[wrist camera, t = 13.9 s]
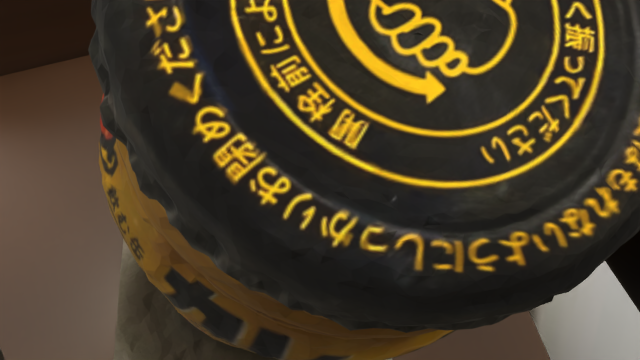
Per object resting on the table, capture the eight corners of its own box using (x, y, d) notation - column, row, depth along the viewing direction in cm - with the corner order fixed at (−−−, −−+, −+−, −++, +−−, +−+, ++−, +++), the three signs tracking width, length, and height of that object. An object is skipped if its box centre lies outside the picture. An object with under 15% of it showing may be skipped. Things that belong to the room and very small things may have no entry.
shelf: (557, 471, 18) (737, 540, 12) (123, 715, 14) (63, 1000, 8) (352, -4, 21) (412, -140, 15) (-47, 92, 18) (-182, -38, 11)
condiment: (378, 132, 17) (710, -252, 6) (392, 428, 15) (962, 705, 4) (133, 119, 16) (-41, -414, 5) (108, 443, 14) (-350, 961, 2)
